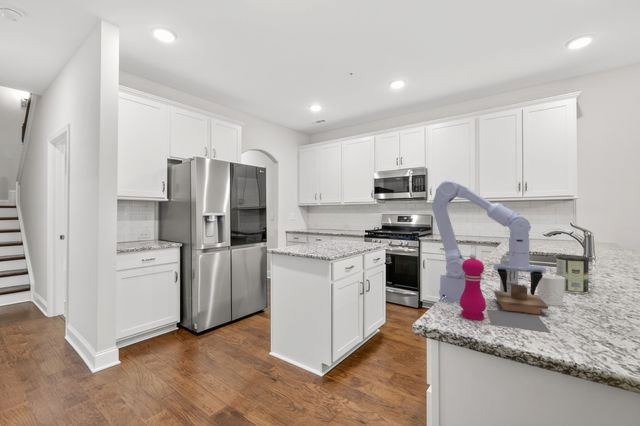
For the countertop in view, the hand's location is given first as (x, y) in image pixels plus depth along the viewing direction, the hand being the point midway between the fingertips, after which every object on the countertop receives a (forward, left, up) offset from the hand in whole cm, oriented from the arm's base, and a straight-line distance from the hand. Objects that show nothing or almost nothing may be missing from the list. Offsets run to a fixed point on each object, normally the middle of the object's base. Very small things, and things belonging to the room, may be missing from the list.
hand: (518, 292), depth 100 cm
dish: (0, 0, -5) cm, 5 cm away
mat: (-3, -14, -5) cm, 15 cm away
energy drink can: (0, +20, -6) cm, 21 cm away
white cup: (+11, +10, -6) cm, 16 cm away
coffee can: (+24, +35, -6) cm, 43 cm away
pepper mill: (-14, -16, -6) cm, 22 cm away
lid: (0, -1, -2) cm, 2 cm away
